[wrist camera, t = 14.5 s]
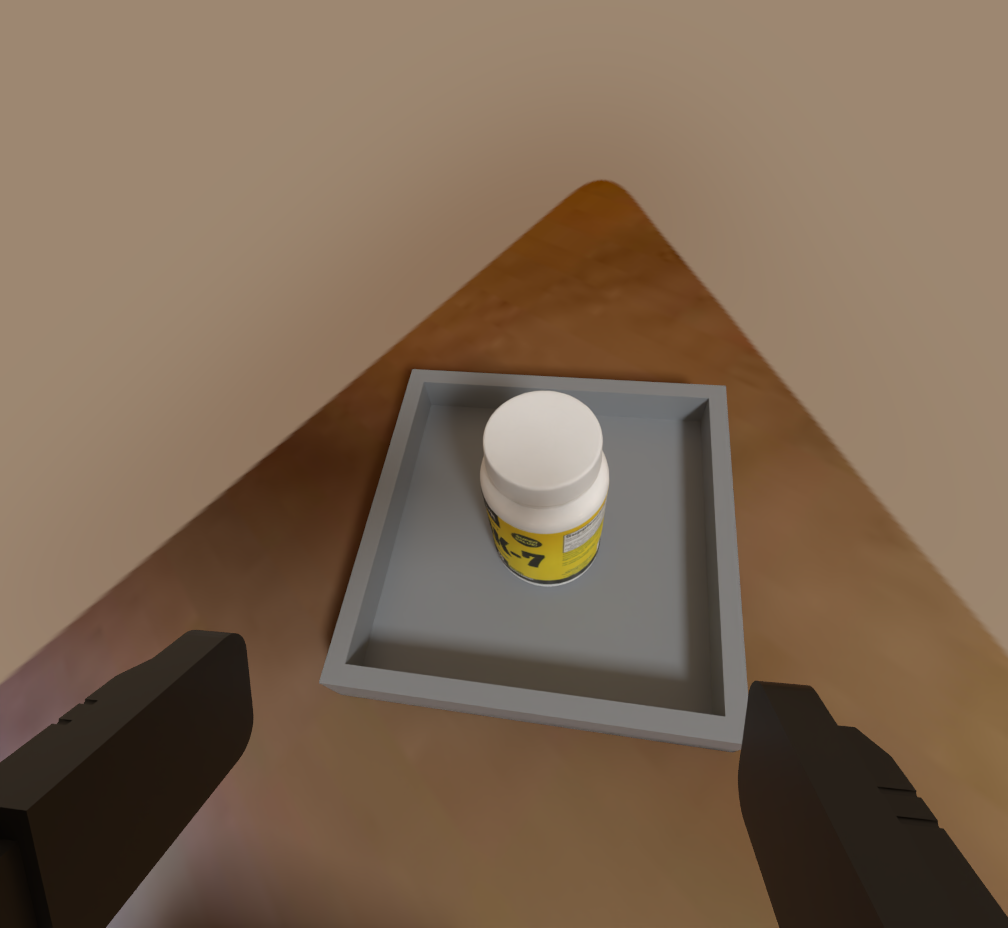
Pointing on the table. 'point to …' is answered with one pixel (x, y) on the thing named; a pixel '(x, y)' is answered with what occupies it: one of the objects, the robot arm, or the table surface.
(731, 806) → the table surface
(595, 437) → the supplement bottle
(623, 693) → the tray
